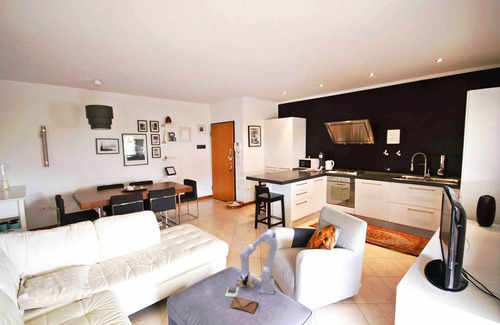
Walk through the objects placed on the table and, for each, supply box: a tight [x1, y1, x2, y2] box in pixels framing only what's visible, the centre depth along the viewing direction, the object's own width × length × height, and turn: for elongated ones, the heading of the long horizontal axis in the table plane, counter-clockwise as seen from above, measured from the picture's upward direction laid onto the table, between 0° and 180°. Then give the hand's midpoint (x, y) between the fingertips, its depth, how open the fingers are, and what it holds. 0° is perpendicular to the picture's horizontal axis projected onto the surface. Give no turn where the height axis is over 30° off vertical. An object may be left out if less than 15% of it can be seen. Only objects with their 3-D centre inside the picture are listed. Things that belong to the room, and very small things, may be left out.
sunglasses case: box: [229, 296, 259, 315], centre depth 148 cm, size 18×7×7 cm, turn 71°
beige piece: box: [236, 277, 255, 288], centre depth 169 cm, size 12×3×5 cm, turn 84°
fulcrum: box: [224, 286, 240, 298], centre depth 162 cm, size 8×10×3 cm
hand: (245, 283), depth 169 cm, fingers closed on beige piece, 3 cm apart
